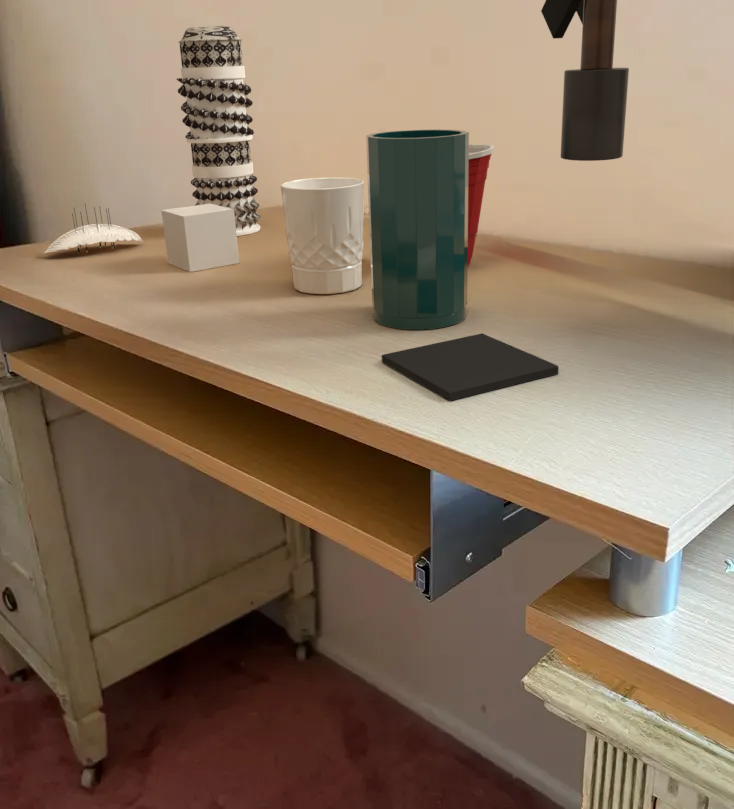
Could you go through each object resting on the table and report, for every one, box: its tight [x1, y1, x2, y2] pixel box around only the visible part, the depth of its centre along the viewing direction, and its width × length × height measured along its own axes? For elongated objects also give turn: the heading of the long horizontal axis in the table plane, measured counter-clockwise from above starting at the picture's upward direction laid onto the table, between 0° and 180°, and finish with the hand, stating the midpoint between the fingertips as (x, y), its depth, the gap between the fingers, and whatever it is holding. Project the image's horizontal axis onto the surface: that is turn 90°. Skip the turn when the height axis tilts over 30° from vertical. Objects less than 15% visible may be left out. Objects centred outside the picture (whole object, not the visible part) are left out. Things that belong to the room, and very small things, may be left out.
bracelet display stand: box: [176, 25, 261, 237], centre depth 107 cm, size 9×9×25 cm
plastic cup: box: [468, 144, 495, 267], centre depth 87 cm, size 11×11×12 cm
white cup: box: [280, 176, 365, 295], centre depth 80 cm, size 8×8×10 cm
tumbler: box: [365, 128, 470, 331], centre depth 69 cm, size 8×8×15 cm
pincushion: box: [43, 204, 144, 254], centre depth 101 cm, size 12×6×6 cm, turn 122°
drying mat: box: [381, 333, 560, 402], centre depth 59 cm, size 9×9×1 cm
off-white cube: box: [160, 204, 240, 273], centre depth 93 cm, size 6×6×6 cm
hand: (569, 23), depth 61 cm, fingers closed on bottle brush, 2 cm apart
